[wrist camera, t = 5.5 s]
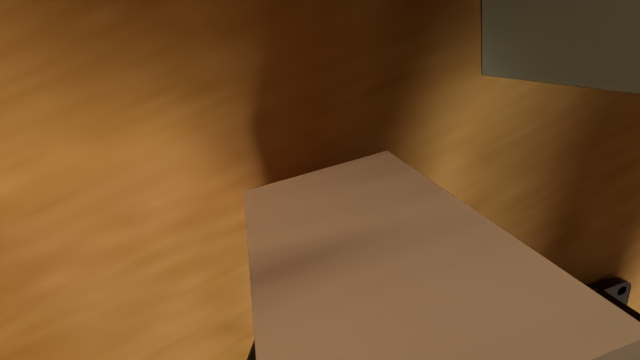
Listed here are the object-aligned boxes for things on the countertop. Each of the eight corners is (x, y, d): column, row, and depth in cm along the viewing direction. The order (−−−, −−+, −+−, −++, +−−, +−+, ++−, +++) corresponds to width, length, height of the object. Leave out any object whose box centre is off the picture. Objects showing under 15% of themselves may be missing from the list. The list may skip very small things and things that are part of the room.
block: (408, 311, 12) (584, 580, 6) (296, 351, 11) (367, 691, 5) (387, 150, 9) (655, 333, 3) (243, 191, 9) (266, 494, 3)
